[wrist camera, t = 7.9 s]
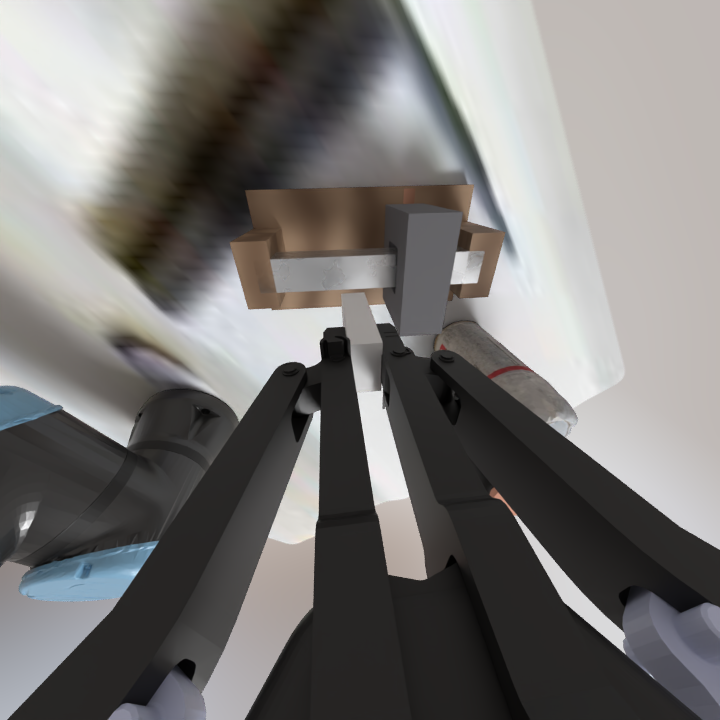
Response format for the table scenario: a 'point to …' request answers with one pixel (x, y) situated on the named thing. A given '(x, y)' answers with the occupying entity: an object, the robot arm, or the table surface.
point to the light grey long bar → (352, 269)
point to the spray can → (508, 373)
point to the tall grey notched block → (420, 265)
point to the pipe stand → (345, 236)
